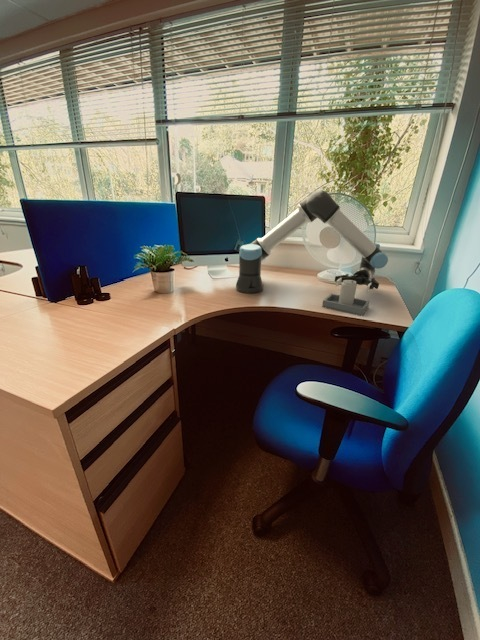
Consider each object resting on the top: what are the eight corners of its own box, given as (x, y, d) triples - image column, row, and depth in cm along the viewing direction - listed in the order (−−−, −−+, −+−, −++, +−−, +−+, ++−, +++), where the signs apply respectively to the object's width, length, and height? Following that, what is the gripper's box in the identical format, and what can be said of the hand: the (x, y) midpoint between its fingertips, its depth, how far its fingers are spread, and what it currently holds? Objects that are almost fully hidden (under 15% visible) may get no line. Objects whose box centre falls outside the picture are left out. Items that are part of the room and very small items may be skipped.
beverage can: (353, 309, 120) (358, 283, 115) (338, 307, 121) (343, 282, 116) (350, 304, 126) (355, 279, 121) (337, 303, 127) (341, 278, 122)
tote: (322, 306, 124) (323, 300, 122) (329, 299, 133) (331, 293, 131) (362, 315, 114) (364, 309, 113) (368, 307, 123) (369, 301, 122)
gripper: (386, 287, 133) (379, 299, 117) (336, 279, 146) (324, 288, 130) (390, 273, 129) (383, 283, 114) (339, 265, 142) (326, 274, 127)
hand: (351, 286), depth 122 cm, fingers open, 13 cm apart
